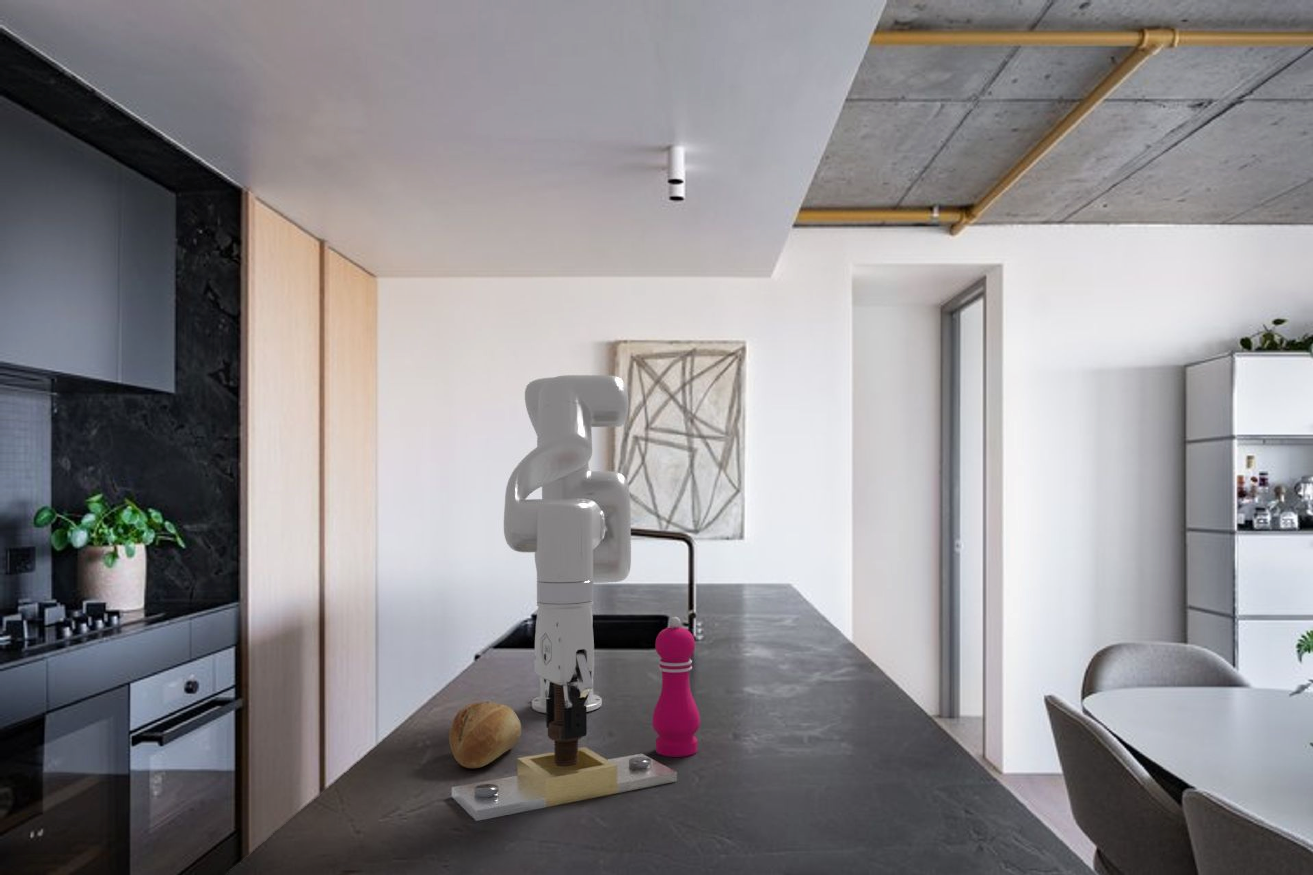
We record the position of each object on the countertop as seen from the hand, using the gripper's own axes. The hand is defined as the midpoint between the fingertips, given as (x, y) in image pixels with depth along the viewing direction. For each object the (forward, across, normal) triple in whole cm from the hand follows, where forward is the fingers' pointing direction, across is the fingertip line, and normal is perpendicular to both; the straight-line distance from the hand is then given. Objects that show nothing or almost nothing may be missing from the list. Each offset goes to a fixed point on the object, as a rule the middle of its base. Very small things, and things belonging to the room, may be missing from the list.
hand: (566, 730), depth 121 cm
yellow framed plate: (+8, 0, 0) cm, 8 cm away
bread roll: (+8, -19, -5) cm, 21 cm away
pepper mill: (+8, -7, +21) cm, 23 cm away
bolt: (+5, 0, 0) cm, 5 cm away
